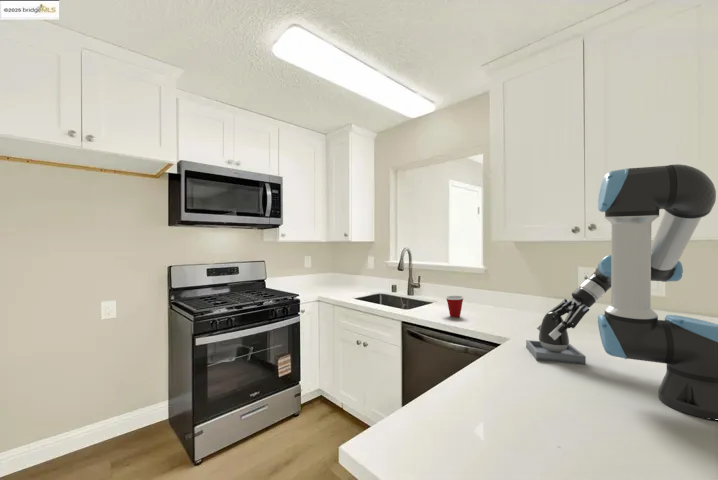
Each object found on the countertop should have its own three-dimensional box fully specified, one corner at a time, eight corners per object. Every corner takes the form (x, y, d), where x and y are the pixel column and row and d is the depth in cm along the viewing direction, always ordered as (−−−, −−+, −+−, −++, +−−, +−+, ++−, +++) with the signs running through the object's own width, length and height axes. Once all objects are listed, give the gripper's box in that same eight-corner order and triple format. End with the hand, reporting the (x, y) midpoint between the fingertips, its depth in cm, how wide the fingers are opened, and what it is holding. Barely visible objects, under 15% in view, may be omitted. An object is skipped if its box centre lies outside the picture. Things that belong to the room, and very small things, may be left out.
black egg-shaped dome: (539, 352, 122) (538, 312, 123) (538, 345, 131) (537, 308, 132) (571, 356, 117) (570, 315, 118) (567, 348, 127) (567, 310, 127)
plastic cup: (441, 315, 197) (441, 296, 197) (455, 313, 201) (455, 294, 201) (453, 319, 187) (453, 298, 187) (467, 317, 191) (467, 297, 192)
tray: (585, 364, 115) (585, 356, 115) (536, 360, 119) (536, 352, 119) (569, 350, 130) (569, 343, 130) (526, 347, 134) (526, 340, 134)
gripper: (614, 306, 112) (568, 349, 114) (577, 296, 134) (539, 333, 136) (598, 291, 113) (552, 334, 114) (564, 283, 135) (526, 320, 136)
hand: (545, 333), depth 125 cm, fingers closed on black egg-shaped dome, 9 cm apart
